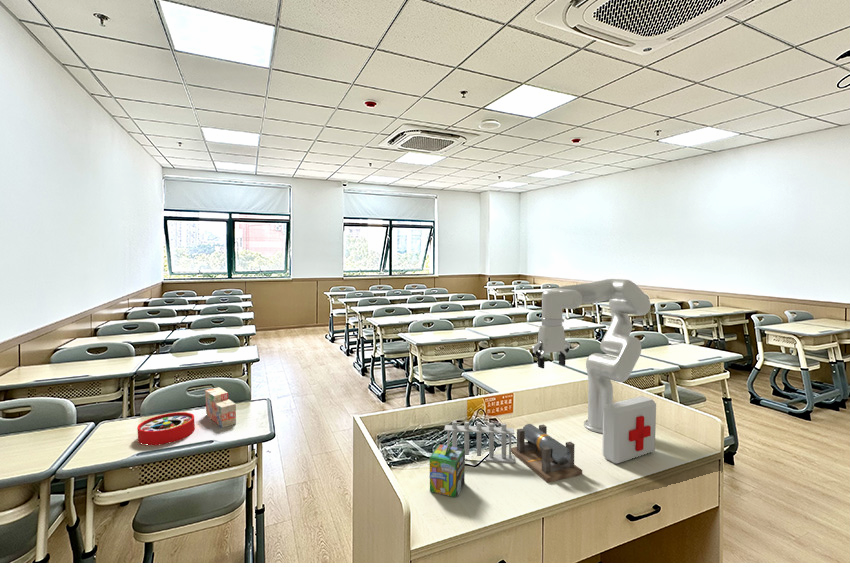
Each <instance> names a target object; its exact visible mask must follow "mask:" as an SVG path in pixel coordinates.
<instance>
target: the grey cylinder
mask: <svg viewBox="0 0 850 567" xmlns="http://www.w3.org/2000/svg"><path fill="white" fill-rule="evenodd" d="M522 429H523V430H524V431H525V440H526V442H529V443H531V444H532V445H533V446H535V447H536V448H538V449H539V450H540V451H542V447H546V446H547V447H549V448H550V449H551V459H552V460H554V461H555V462H557V463H558V464H559V465H565V464H567V463H568V462H569V460H570V458H571V451H570V450H569V449H568V448H567V447H566V445H564V444H562V443H561V442H559V441H558V440H556V439H555V438H553V437H552V436H550V435H549V434H546V433H544V432H543V431H541V430H540V429H539V427H536V426H535V425H534V424H532V423H527V424H525V425H524V426H523V427H522Z"/></svg>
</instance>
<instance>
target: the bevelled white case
mask: <svg viewBox="0 0 850 567" xmlns="http://www.w3.org/2000/svg"><path fill="white" fill-rule="evenodd" d="M656 422H657V403H656V402H655V400H654V399H652V398H650V397H646V396H644V395H641V396H636V397H632V398H628V399H624V400H619V401H616V402H614V401H613V403H610V404H606V405H605V406H603V433H602V449H601V450H602V453H601V454H602V456H603V457H604V459H605V460H607V461H609V462H611V463H612V464H614V465H617V464H620V463H625V462H626V461H630V460H632V458H633V459H635V457H636V458H638V456H639V457H642V456H645V455H647V453H648V454H650V452H651V453H653V452H655V451H656V432H657V431H656V428H657V427H656V425H657V424H656ZM644 454H645V455H644ZM641 455H642V456H641Z"/></svg>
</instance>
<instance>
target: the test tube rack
mask: <svg viewBox="0 0 850 567" xmlns="http://www.w3.org/2000/svg"><path fill="white" fill-rule="evenodd" d="M463 424H464V425H458V422H457V421H456V420H452V422H451V424H445V425H444V430H443V431H444V432H445V431H446V432H447V435H446V436H447V446H448V445H449V444H450V442H451V441H452V445H451V447H456V448H458V432H461V433H462V432H463V433H464V435H463V436H464V438H463V439H464V441H463V442H464V443H463V444H464V448H463V449H465V455H469V453H470V433H476V453H477V456H481V454H482V433H483V434H488V454H489V456H488V457H487V458H486V459H485V460H486V461H492V462H491V463H501V462H502V464H504V463H505V464H506V463H507V464H516V460H515V455H513V454H512V453H511V448H512V435H515V428H514V427H507V423H505V422H504V423H501V427H498V426H495V424H494V422H489V423H488V426H482V425H483V424H482V422H481V421H477V422H476V426H475V425H470V422H469V421H464V423H463ZM450 433H451V434H452V435H451V434H450ZM495 434H501V454H499V453H498V454H497V453H496V454H495ZM507 435H508V454H507ZM450 436H451V437H450ZM451 438H452V439H451ZM450 439H451V440H450Z"/></svg>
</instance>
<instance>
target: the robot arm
mask: <svg viewBox="0 0 850 567" xmlns="http://www.w3.org/2000/svg"><path fill="white" fill-rule="evenodd" d="M608 300H609V301H608ZM604 301H608V306H609V309H610V314H611V321H610V324H609V326H608V328H607V330H606V332H605V334H604V335H603V337H602V340H601V342H600V344H599V346H600V350H601V351H602V352H603V353H601V352H600V353H599V352H595V353H592V354H589V355H588V357H587V358H586V360H585V367H586V368H585V369H586V374H587V381H588V385H587V386H588V387H587V388H588V390H587V395H588V396H587V400H588V401H587V419H586V420H584V422H583V426H584V427H585V428H586V429H587V430H589V431H592V432H594V433H599V434H603V406H605V405H606V404H610V403H614V401H613V400H614V399H613V398H614V397H613V395H614V387H613V383H612V381H613V382H617V383H624V382H625V381H627V380H628V379H629V378H630V375H631V374H632V372H633V370H634V368H635V366H636V364H637V362H638V360H639V358H640V356H641V353H642V343H641V341H640V339H639V338H637V337H635V336H632V335H631V333H632V330H633V325H632V322H631V319H630V317H629V315H633V316H646V315H647V314H648V313H649V312H650V310H651V304H652V303H651V300H650V299H649V297H648V296H647V294H646V293H644V291H643V290H642V289H641V288H640V286H638V285H637V283H634V282H633V281H632V280H630V279H623V278H622V279H621V278H619V279H618V278H606V279H602V280H596V281H592V282H586V283H578V284H572V285H570V284H569V285H563V286H557V287H553V288H551V289H550V290H545V291H543V292H542V294H541V325H540V326H539V330H538V334H537V343H535V344H534V345H532V346H531V349H532V352H533V354H535V356H536V357H537V367H538V368H541V369H545V358H544V356H545V355H546V354H548V353H549V354H550V353H559V354H558V365H560V366H562V367H564V366H566V356H567V355H568V353H569V351H570V348H571V346H572V343H571V342H569V341H567V340H566V335H565V329H564V328H565V327H564V326H563V323H564V322H565V319H564V318H563V309H566V310H567V309H568V310H576V309H578V308H579V307H580V306H581V305H582V304H596V303H601V302H604Z"/></svg>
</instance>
